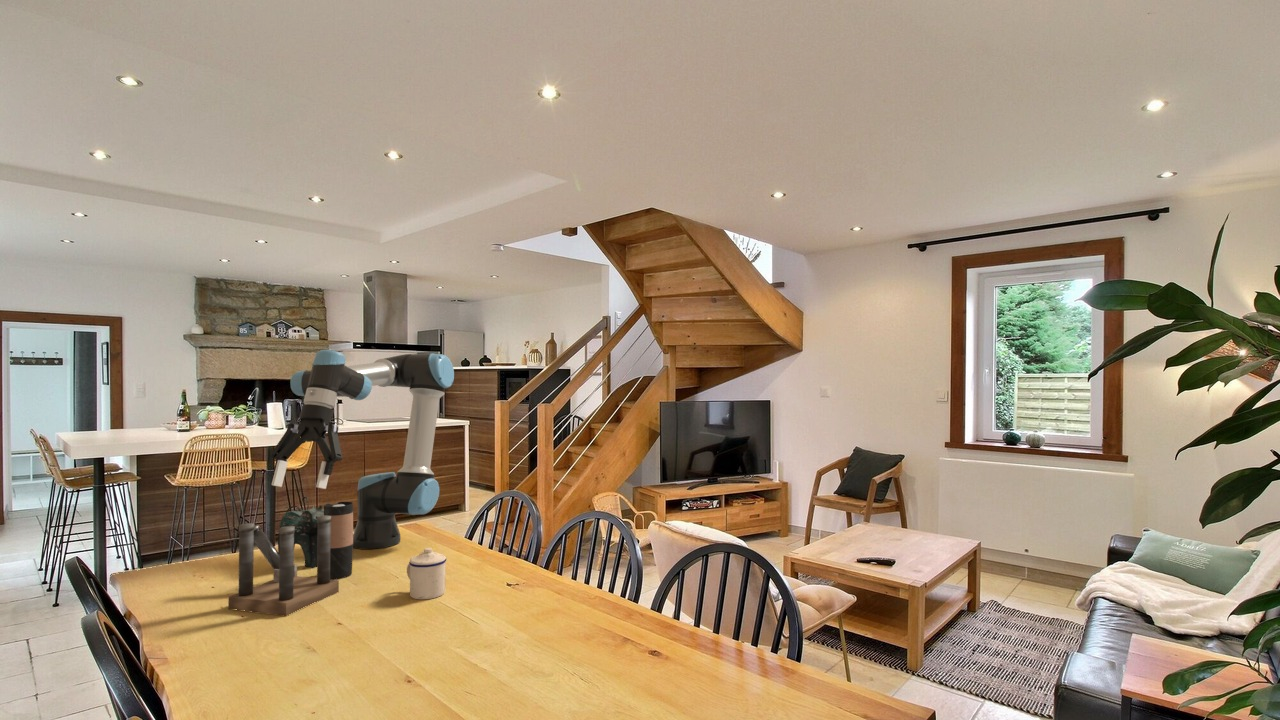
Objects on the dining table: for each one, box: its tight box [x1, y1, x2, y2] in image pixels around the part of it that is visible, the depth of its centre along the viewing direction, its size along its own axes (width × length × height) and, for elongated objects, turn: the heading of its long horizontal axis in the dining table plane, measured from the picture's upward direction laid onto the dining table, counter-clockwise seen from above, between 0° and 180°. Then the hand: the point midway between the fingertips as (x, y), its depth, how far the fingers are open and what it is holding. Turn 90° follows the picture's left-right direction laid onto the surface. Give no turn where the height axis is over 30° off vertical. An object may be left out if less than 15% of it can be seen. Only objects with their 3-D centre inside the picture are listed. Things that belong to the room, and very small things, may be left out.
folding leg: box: [254, 524, 279, 571], centre depth 167 cm, size 3×3×15 cm
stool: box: [227, 516, 340, 617], centre depth 158 cm, size 17×17×20 cm
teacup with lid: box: [406, 547, 447, 600], centre depth 163 cm, size 12×9×12 cm
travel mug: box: [323, 501, 354, 580], centre depth 178 cm, size 8×8×20 cm
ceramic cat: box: [277, 496, 324, 569], centre depth 190 cm, size 20×6×20 cm, turn 58°
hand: (298, 487), depth 162 cm, fingers open, 13 cm apart
